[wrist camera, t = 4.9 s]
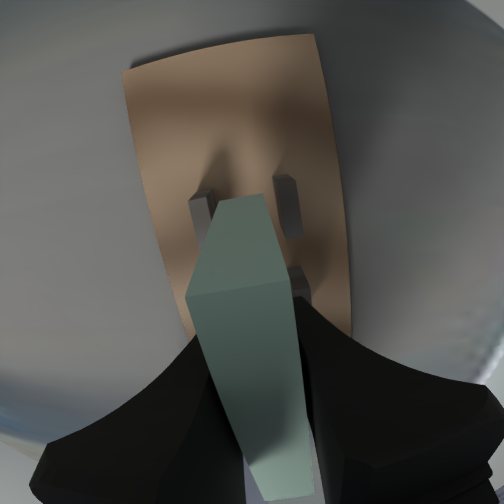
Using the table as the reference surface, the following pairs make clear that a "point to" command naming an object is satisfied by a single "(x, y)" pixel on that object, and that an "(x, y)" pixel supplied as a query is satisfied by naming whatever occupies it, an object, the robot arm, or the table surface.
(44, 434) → the table surface
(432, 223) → the table surface
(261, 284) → the door panel
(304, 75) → the rail
